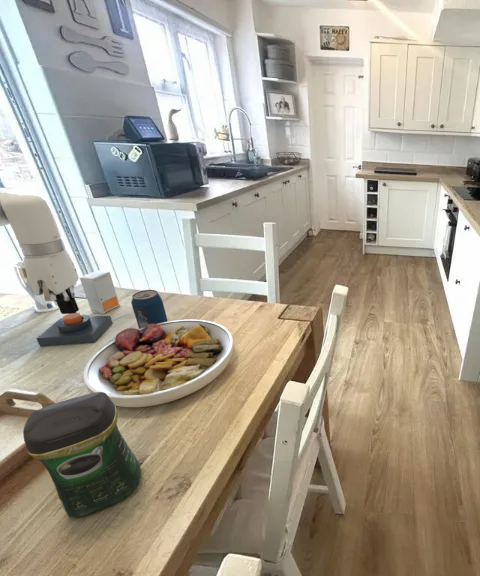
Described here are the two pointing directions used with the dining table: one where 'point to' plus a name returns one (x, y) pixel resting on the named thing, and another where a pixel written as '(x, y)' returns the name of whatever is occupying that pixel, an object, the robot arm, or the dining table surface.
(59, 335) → the button base
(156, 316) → the soda can
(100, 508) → the coffee jar
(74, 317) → the orange button cap
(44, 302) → the beer glass
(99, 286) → the cosmetic box
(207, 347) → the white plate of food
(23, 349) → the dining table surface
